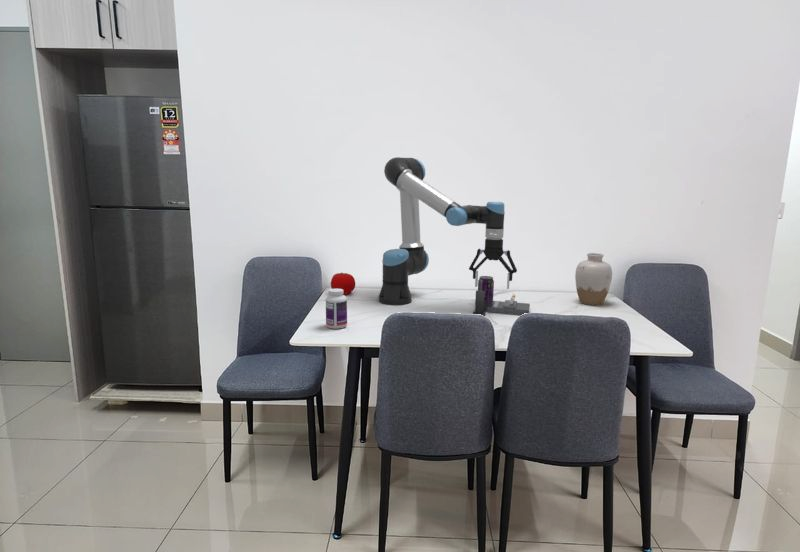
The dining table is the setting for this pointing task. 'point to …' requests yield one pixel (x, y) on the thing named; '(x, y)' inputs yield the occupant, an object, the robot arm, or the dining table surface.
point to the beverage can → (486, 286)
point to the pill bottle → (336, 309)
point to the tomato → (343, 282)
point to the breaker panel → (506, 307)
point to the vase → (593, 279)
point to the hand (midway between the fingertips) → (492, 287)
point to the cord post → (479, 303)
